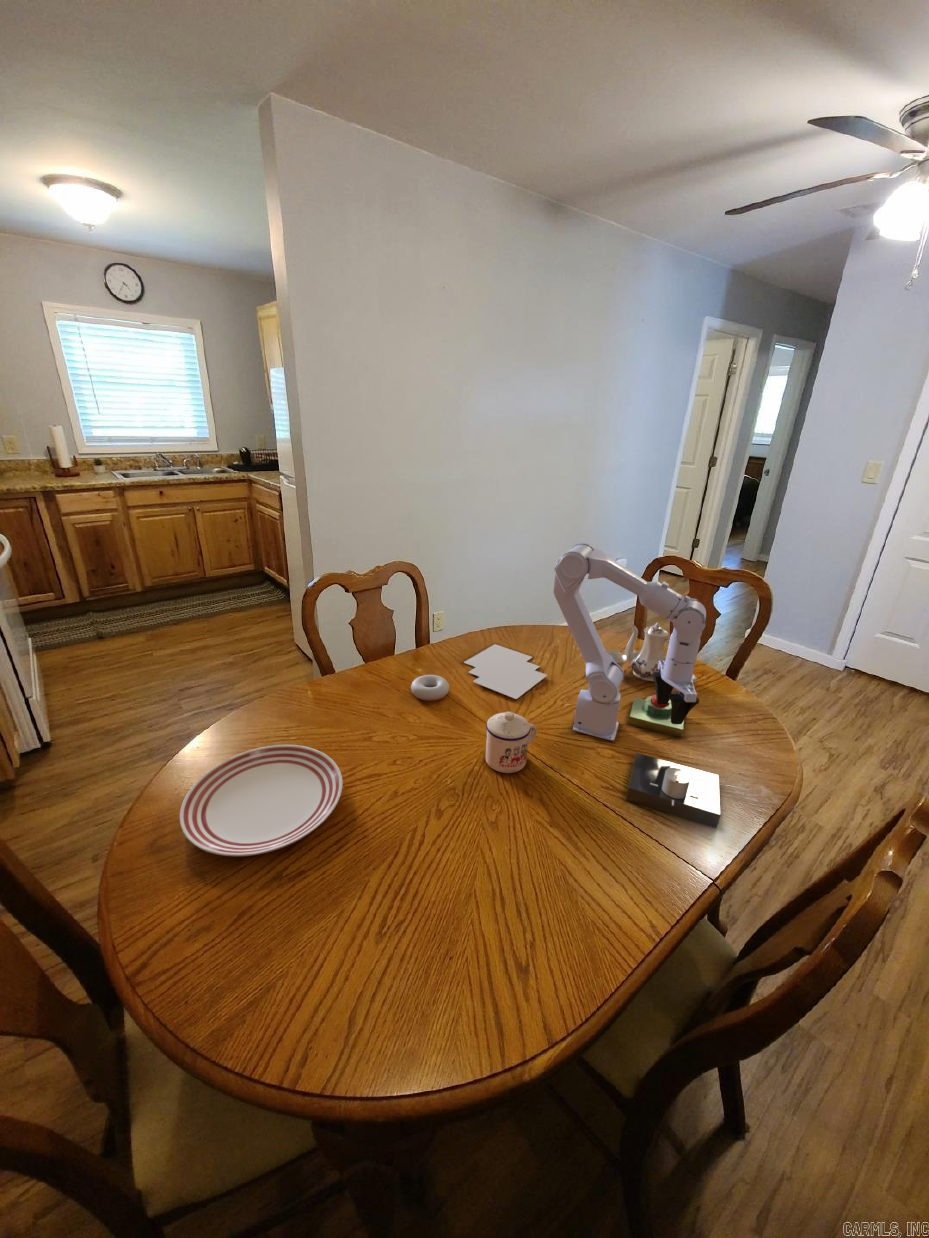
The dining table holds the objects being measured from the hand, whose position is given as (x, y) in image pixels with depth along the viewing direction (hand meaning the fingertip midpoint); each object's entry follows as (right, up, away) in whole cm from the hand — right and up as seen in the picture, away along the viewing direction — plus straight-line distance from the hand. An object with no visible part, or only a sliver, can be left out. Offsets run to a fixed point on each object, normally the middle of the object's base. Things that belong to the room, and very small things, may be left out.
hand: (668, 713), depth 109 cm
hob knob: (-5, -12, -15) cm, 20 cm away
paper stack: (-33, +6, +34) cm, 48 cm away
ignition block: (+2, -4, +13) cm, 14 cm away
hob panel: (-4, -14, -11) cm, 18 cm away
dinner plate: (-81, -14, -17) cm, 84 cm away
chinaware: (+6, +4, +33) cm, 34 cm away
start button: (+3, 0, +13) cm, 14 cm away
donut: (-54, +1, +21) cm, 58 cm away
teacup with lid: (-35, -9, -3) cm, 36 cm away
